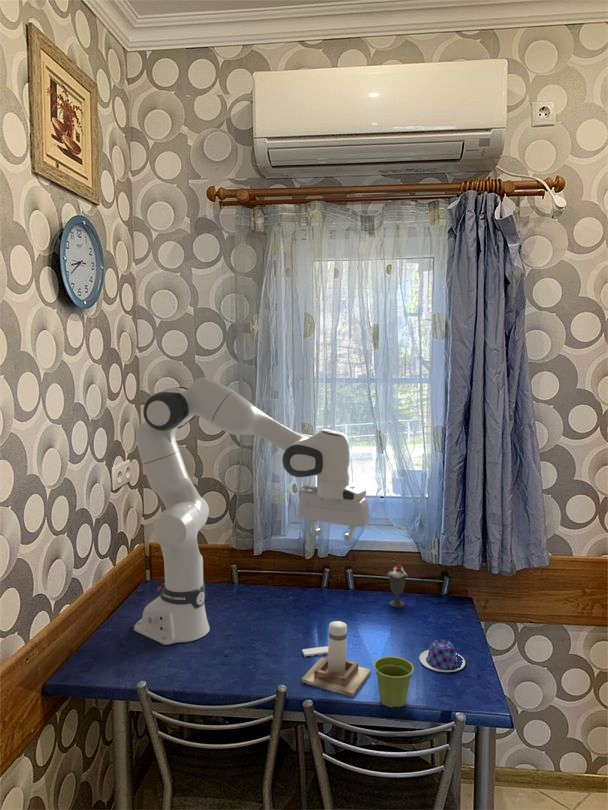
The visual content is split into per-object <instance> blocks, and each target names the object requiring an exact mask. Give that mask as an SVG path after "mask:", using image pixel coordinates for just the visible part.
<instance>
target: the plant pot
mask: <svg viewBox="0 0 608 810" xmlns="http://www.w3.org/2000/svg"><path fill="white" fill-rule="evenodd" d="M373 669H374V671H375V675H376V677H377V679H376V680H377V684H378V685H377V687H378V693H379V694H378V695H379V701H380V703H381V704H382V705H384V706H386V707H387V708H388V707H389V708H394V707H396V708H401V707H403V706H405V704H406V702H407V695H408V690H409V684H410V680H411V677H412V674H413V673H414V670H415V667H414V665H413V664H412V662H410V661H408V660H407V659H404V658H402V657H398V656H383V657H379V658H378V659H376V660H375V661H374V662H373Z"/></svg>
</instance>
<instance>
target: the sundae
mask: <svg viewBox="0 0 608 810" xmlns="http://www.w3.org/2000/svg"><path fill="white" fill-rule="evenodd" d="M400 563H401V562H400V561H399V562H398V563H397V564H396V565H395V566H394V567H393V569H392V570H389V571H388V572H387V573H386V576H387V577H388V579H389V584H390V590H391V592H392V593H393V594H394V596H395V597H394V600H391V601H389V606H390V607H393V608H403V607H405V602H403V601H401V600H400V595H401V594H402V593H403V592H404V589H405V583H406V580H407V578H408V577H409V575H408V573H407V572H406V570H404V568H403V566H402V564H400Z"/></svg>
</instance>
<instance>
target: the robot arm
mask: <svg viewBox="0 0 608 810" xmlns="http://www.w3.org/2000/svg"><path fill="white" fill-rule="evenodd" d="M142 413H143V418H144V420H145V421H144V422H143V423H141V424H140V425H139V426H138V427H137V429H136V430H135V437H136V438H135V439H136V444H137V445H136V446H137V450H138V453H139V458H140V461H141V463H142V467H143V470H144V473H145V475H146V478H147V481H148V484H149V486H150V489H151V490H152V492H154V493H155V494H156V495H158V497H159V498H160V500H161V501H162V503H163V505H164V507H165V510H163V511H162V512H161V513H160V514H159V516H158V518H157V519H156V522H155V523H154V526H153V535H154V538H155V540H156V542H157V543H158V544H159V545H160V550H161V553H162V557H163V562H164V563H163V564H164V565H163V567H164V583H163V584H161V585H160V586H159V587H157V592H160V591H161V592H160V595H159V596H157V597H156V598H155V599H153V600H152V601H151V602H150V603H148V604H147V605H146V606H145V607H144V609H143V611H142V617H141V618H140V619H139V620H138V621H137V622H136V623H135V625H134V627H133V631H135V632H137V633H139V634H141V635H143V636H144V637H147V638H149V639H151V640H154V641H156V642H158V643H160V644H162V645H164V646H165V645H166V646H167V645H171V644H176V643H187V642H188V643H189V642H192V641H195V640H199V639H201V638H202V637H204V636H206V635H207V634H208V633H209V632H210V623H209V622H208V621H209V620H208V618H207V617H208V616H207V612H206V606H205V601H206V584H205V581H204V559H203V558H204V557H203V555H202V554H201V553H200V549H199V545H198V533H199V532H200V530H201V529H202V528H203V527H204V526H205V525H206V523H207V521H208V519H209V514H210V506H209V505H208V503H207V501H206V499H204V498H203V497H202V496H201V495H200V493H199V492H198V490H197V488H196V487H195V485H194V484H193V482H192V480H191V478H190V475H189V474H188V471H187V468H186V465H185V462H184V459H183V457H182V454H181V452H180V451H181V450H180V448H179V445H178V442H177V439H176V432H177V430H178V429H181V428H182V427H184V426H186V425H187V424H188V423H189V422H191V421H192V420H193V419H195V418H196V417H197V416H198V417H200V418H202V419H204V420H206V421H207V422H208V423H210V424H211V425H213V426H215V427H216V428H217V429H219V430H221V431H223V432H225V433H227V434H229V435H233V436H242V435H243V436H244V435H245V436H257V437H259V438H262V439H263V440H266V441H268V442H270V443H271V444H272V445H274V446H276V447H277V448H279V449H281V450H283V451H284V453H283V455H282V457H281V458H282V459H281V460H282V461H281V462H282V466H283V468H284V470H285V471H286V472H287V473H288V474H289V475H290V476H292V477H295V478H307V477H312V476H316V486H310V485H304V486H302V487H300V488H299V491H298V498H299V501H298V508H297V516H298V517H299V518H300V519H303V520H308V521H309V525H310V526H311V528H312V530H313V536H316V537H320V536H321V534H322V532H321V531H322V529H321V528H320V527H319V526H318V524H317V523H318V522H321V523H328V524H337V525H342V526H348V530H349V532H347V533H345V534H344V541H346V542H351V541H352V540H353V534H354V532H355V531H356V529H357V528H364V527H366V526H367V525H368V524H369V522H370V509H369V503H368V500H367V499H366V498H365V497H366V495H367V490H366V489H365V488H364V487H362V486H360V485H358V484H355V483H353V482H351V481H350V475H349V466H350V444H349V439H348V437H347V435H346V434H345V433H343V432H341V431H339V430H335V429H330V428H329V429H327V428H326V429H321V430H320V431H318V432H317V433H315V434H313V435H312V434H305V433H301V432H297V431H295V430H293V429H292V428H290V427H288V426H286V425H284V424H283V423H281V422H280V421H278V420H276V419H275V418H273V417H272V416H269V415H267V413H265V412H264V411H262V410H261V409H259V408H258V407H256V406H255V405H254V404H253V403H251V401H249V400H247V398H245V397H243V396H242V395H241V394H239V393H237V392H236V391H234V390H233V389H231V388H230V387H228V386H226V385H225V384H222V383H220V382H218V381H215V380H214V379H211V378H209V377H203V376H202V377H199V378H197V379H195V380H194V381H193V382H192V383H191V384H190V385H189V387H184V386H178V387H171V388H170V387H169V388H167V389H166V388H165V389H164V390H162V391H160V392H157V393H154V394H153V395H151V396H150V397H149V398H147V400H146V402H145V403H144V406H143V411H142Z"/></svg>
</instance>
